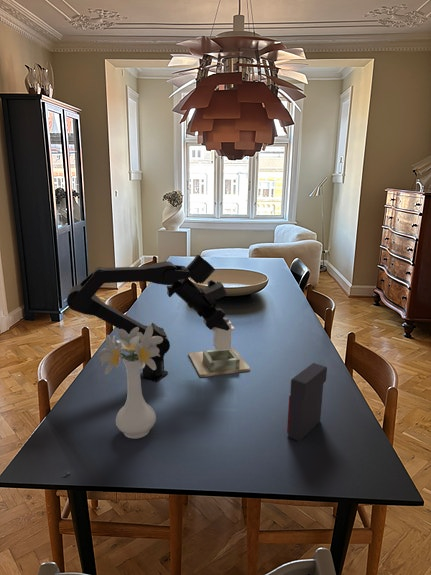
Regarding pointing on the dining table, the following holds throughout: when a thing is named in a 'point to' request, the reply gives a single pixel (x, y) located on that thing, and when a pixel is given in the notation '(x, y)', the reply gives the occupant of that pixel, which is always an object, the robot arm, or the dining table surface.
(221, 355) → the plate
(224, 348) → the block
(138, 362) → the flower vase
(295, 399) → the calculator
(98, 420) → the dining table surface
